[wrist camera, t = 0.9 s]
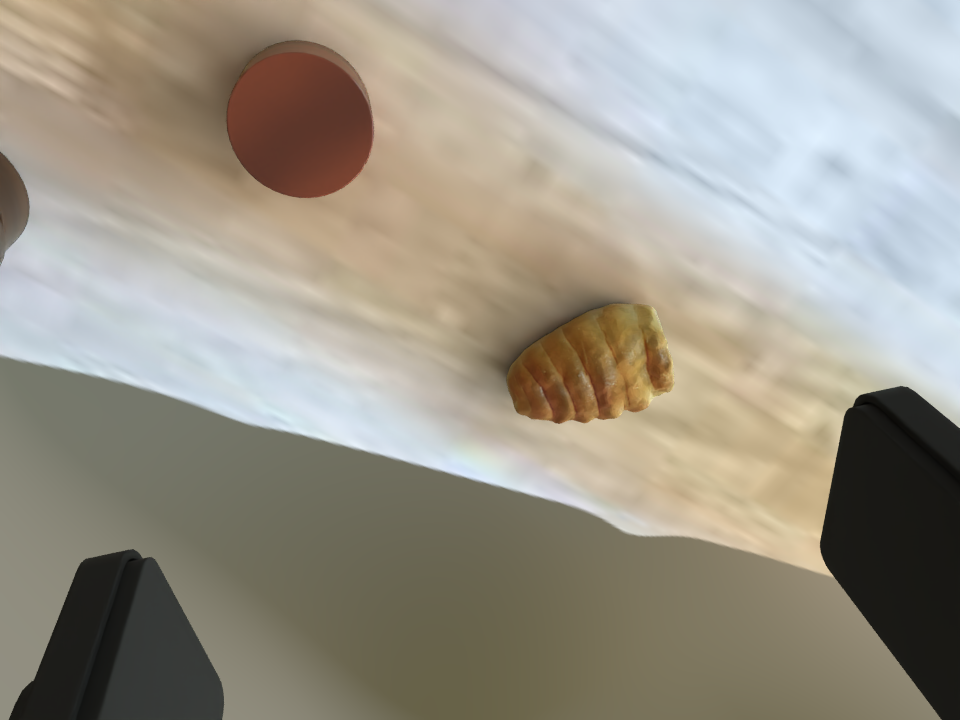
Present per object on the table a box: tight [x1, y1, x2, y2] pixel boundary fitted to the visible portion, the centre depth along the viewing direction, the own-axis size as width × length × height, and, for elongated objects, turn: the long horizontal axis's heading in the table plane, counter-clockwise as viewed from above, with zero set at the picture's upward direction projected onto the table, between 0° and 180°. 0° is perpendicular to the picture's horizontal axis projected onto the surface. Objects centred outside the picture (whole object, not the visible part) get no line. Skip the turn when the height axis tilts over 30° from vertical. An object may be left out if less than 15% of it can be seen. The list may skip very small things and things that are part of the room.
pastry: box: [506, 304, 674, 424], centre depth 41 cm, size 9×7×4 cm
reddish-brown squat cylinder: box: [226, 40, 374, 198], centre depth 31 cm, size 6×6×3 cm
